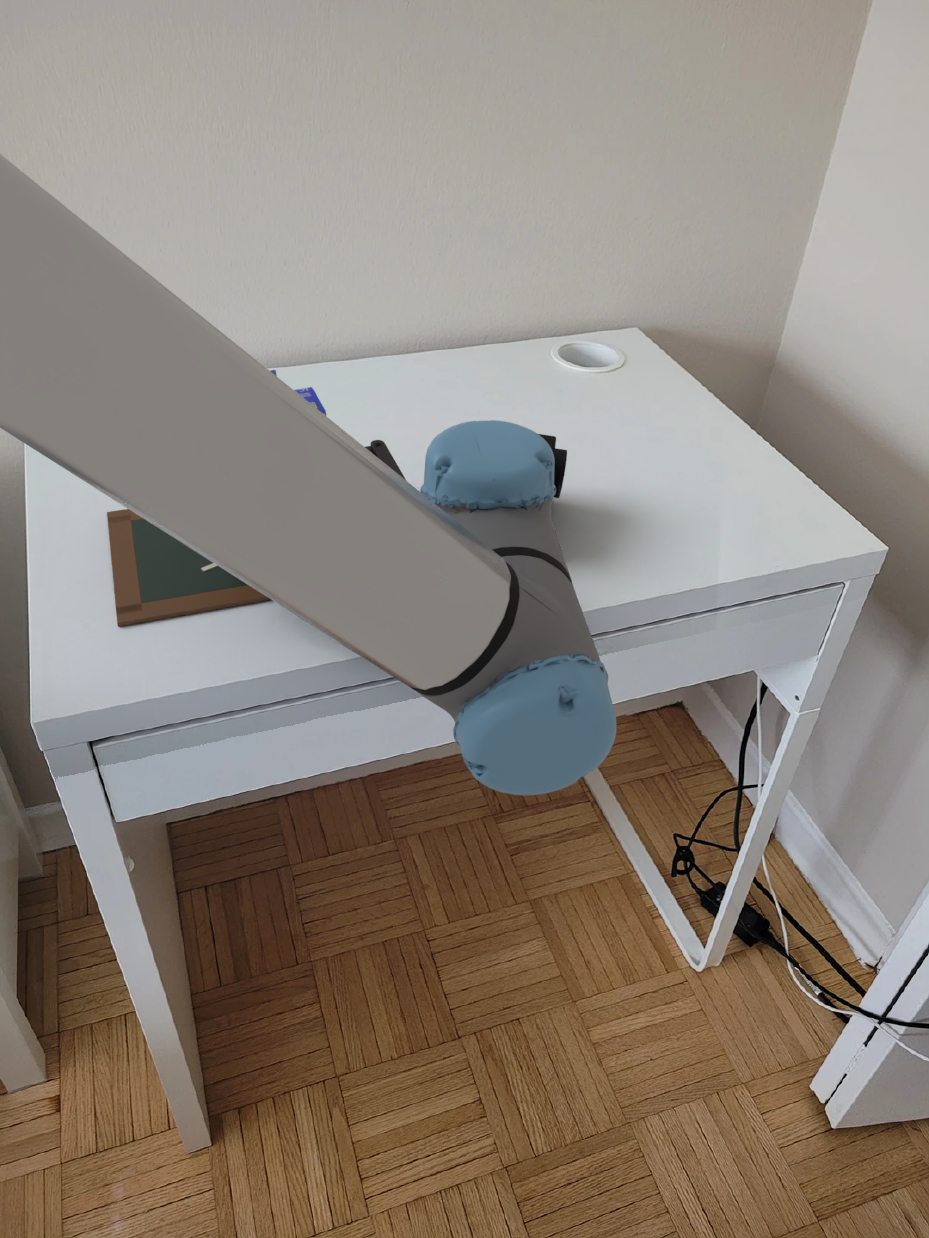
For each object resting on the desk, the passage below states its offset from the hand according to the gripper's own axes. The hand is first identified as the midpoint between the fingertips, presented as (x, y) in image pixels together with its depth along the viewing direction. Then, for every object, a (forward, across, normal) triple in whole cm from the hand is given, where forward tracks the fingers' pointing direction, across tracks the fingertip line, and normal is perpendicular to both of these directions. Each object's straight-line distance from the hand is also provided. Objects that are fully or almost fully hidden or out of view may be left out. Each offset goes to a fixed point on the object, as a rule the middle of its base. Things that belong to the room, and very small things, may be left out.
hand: (245, 446), depth 82 cm
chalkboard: (-3, -3, -8) cm, 9 cm away
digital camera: (-15, +19, -8) cm, 26 cm away
